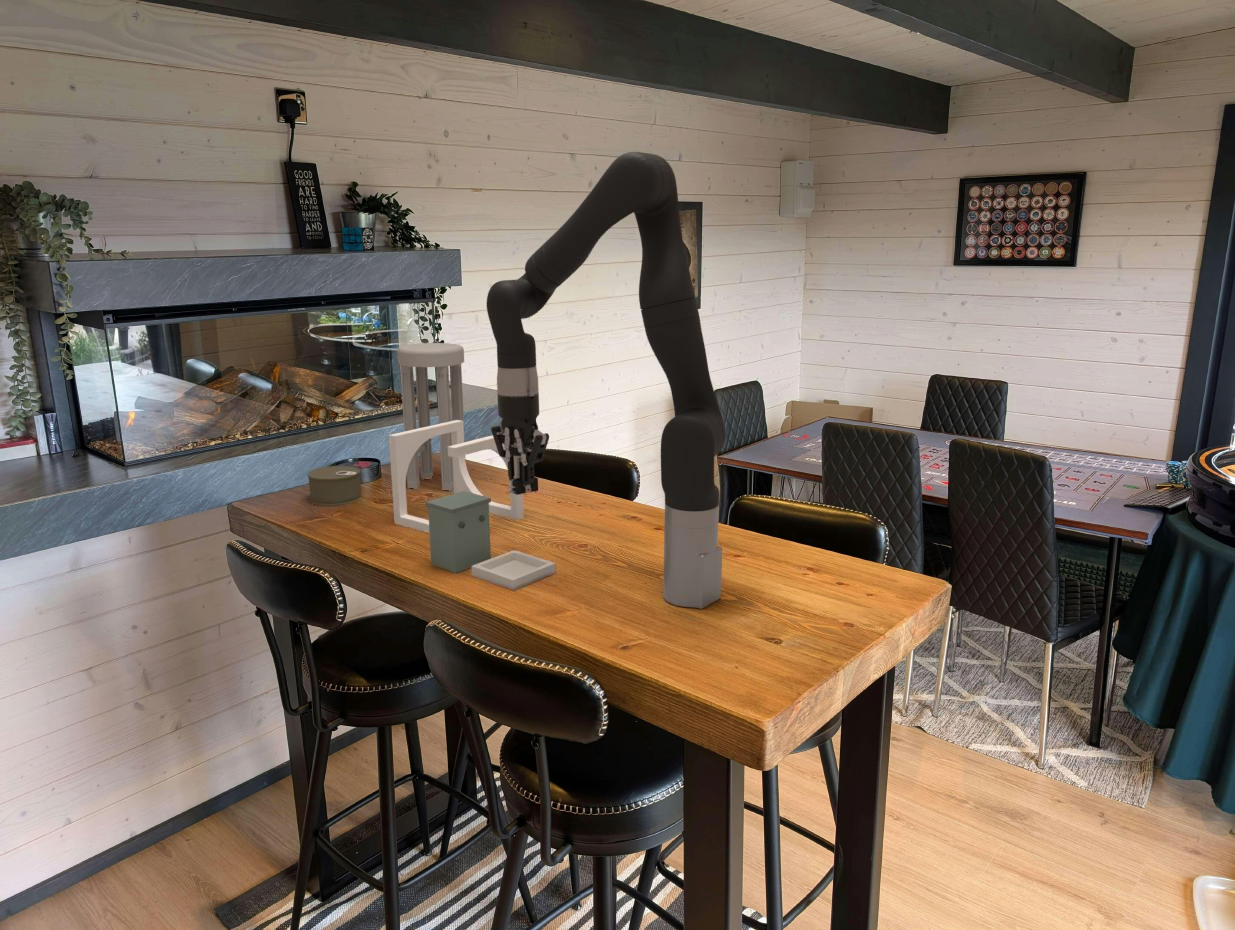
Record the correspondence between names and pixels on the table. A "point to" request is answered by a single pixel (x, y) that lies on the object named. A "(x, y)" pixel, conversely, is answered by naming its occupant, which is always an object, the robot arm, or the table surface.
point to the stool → (421, 359)
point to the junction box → (459, 530)
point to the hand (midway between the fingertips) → (521, 481)
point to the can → (334, 485)
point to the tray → (513, 570)
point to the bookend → (411, 440)
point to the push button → (520, 474)
